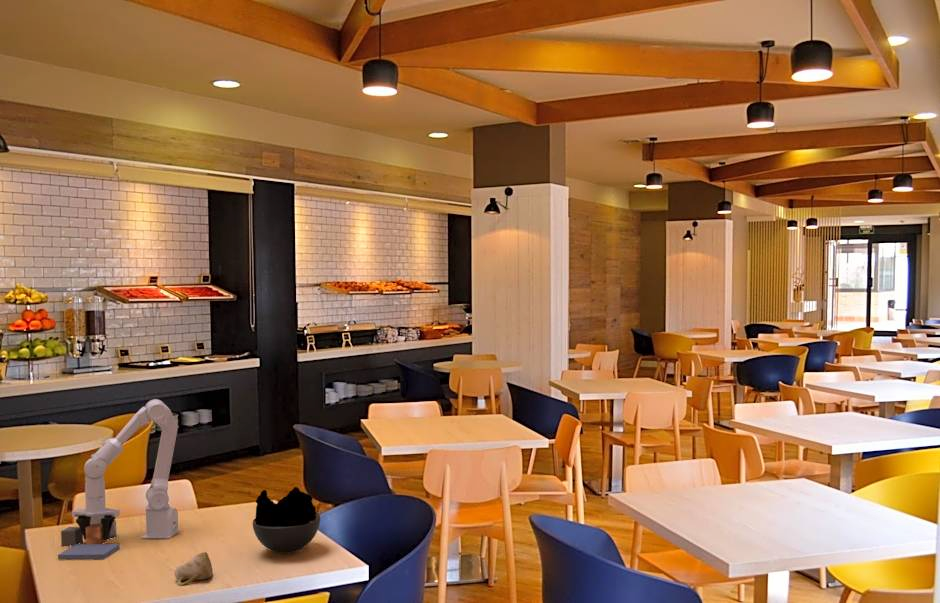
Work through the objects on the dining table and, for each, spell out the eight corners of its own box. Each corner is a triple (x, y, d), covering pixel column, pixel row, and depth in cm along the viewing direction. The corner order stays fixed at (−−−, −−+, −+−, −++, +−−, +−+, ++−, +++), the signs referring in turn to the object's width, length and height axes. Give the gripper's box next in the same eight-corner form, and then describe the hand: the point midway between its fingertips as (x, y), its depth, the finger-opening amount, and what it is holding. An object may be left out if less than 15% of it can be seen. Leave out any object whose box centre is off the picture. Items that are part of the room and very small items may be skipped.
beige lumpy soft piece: (173, 578, 227) (191, 543, 229) (205, 592, 227) (222, 558, 230) (167, 580, 219) (185, 545, 222) (200, 595, 220) (217, 559, 222)
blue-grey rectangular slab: (119, 548, 254) (119, 544, 254) (103, 559, 244) (103, 554, 244) (76, 549, 254) (75, 544, 254) (58, 559, 244) (57, 554, 244)
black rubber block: (83, 542, 262) (82, 526, 262) (75, 546, 257) (74, 531, 257) (69, 542, 262) (68, 527, 262) (61, 546, 257) (61, 531, 257)
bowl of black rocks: (334, 545, 252) (332, 484, 251) (294, 565, 234) (292, 500, 233) (281, 538, 260) (280, 479, 260) (239, 557, 242) (237, 494, 242)
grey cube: (119, 534, 269) (118, 519, 269) (112, 539, 264) (111, 524, 264) (104, 535, 269) (103, 519, 269) (96, 539, 264) (96, 524, 264)
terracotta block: (107, 542, 261) (106, 523, 261) (100, 546, 257) (99, 527, 257) (93, 542, 261) (93, 523, 261) (86, 546, 257) (85, 527, 257)
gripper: (66, 499, 255) (67, 543, 256) (111, 499, 255) (112, 542, 255) (78, 494, 262) (79, 536, 263) (122, 493, 262) (123, 536, 262)
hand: (96, 539), depth 259 cm, fingers open, 6 cm apart
